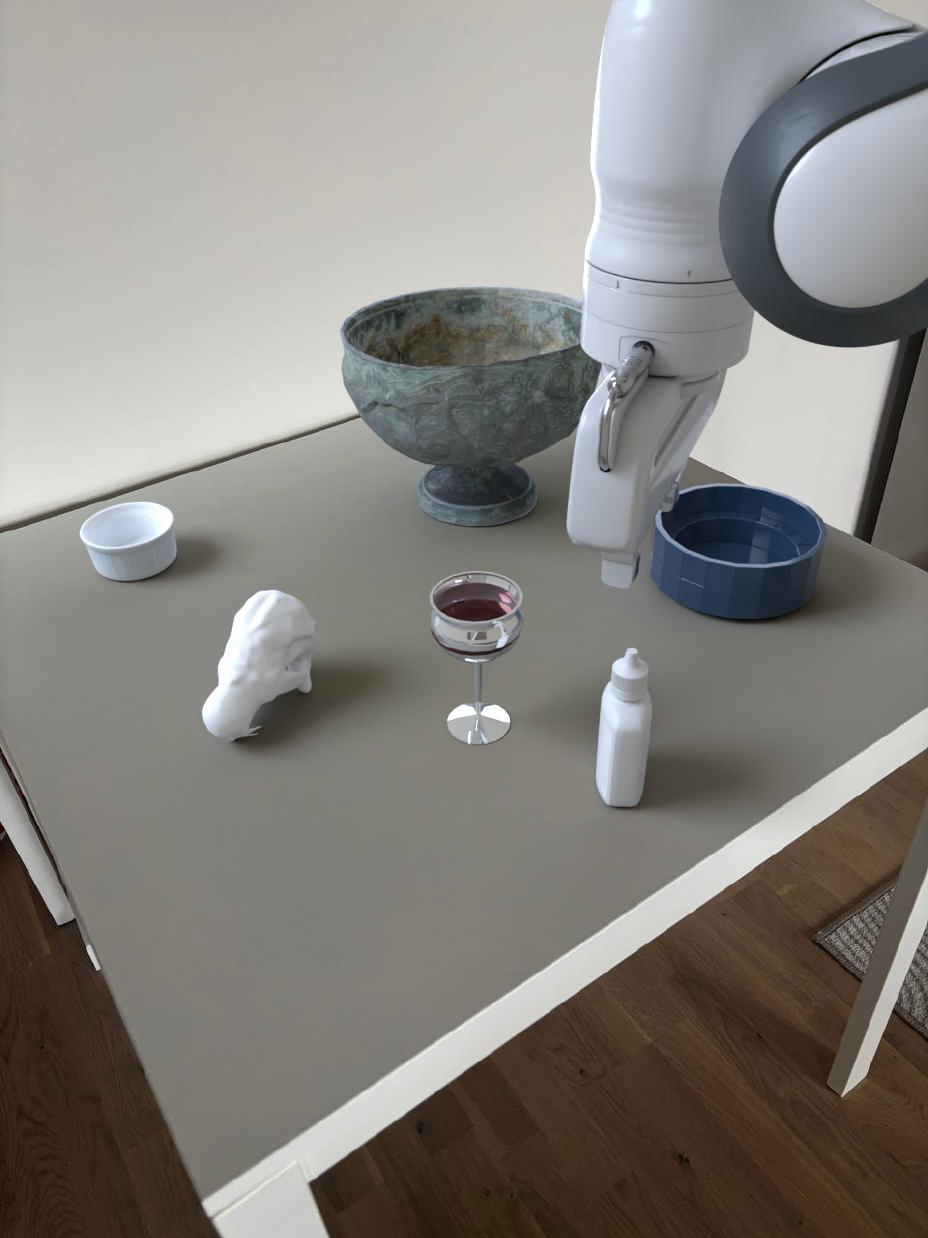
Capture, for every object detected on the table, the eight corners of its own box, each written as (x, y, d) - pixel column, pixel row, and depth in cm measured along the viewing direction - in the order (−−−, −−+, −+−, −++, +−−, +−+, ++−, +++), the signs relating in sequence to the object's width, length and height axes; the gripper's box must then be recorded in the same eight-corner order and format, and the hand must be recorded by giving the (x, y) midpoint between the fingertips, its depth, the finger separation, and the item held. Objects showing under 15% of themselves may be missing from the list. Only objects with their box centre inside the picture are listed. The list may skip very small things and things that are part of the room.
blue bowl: (824, 553, 95) (836, 499, 92) (801, 640, 84) (814, 582, 80) (671, 524, 100) (677, 472, 97) (630, 602, 89) (635, 546, 86)
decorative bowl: (418, 584, 91) (413, 377, 80) (313, 481, 110) (296, 302, 99) (640, 519, 102) (662, 330, 91) (510, 436, 121) (516, 270, 110)
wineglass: (538, 730, 75) (542, 603, 68) (465, 764, 72) (461, 635, 65) (490, 684, 80) (489, 560, 73) (419, 714, 77) (411, 589, 70)
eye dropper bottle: (574, 794, 70) (582, 663, 63) (609, 748, 73) (620, 619, 66) (630, 818, 68) (645, 685, 61) (662, 769, 72) (680, 639, 65)
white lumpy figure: (317, 587, 76) (234, 690, 68) (333, 666, 82) (258, 769, 74) (248, 572, 78) (160, 670, 70) (269, 649, 84) (189, 748, 76)
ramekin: (187, 574, 95) (178, 536, 92) (92, 593, 92) (81, 554, 90) (176, 531, 101) (168, 494, 99) (88, 548, 99) (77, 511, 96)
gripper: (678, 398, 42) (647, 650, 50) (762, 267, 57) (727, 478, 65) (540, 377, 44) (532, 622, 52) (656, 256, 59) (636, 462, 67)
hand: (641, 541), depth 59 cm, fingers open, 8 cm apart
